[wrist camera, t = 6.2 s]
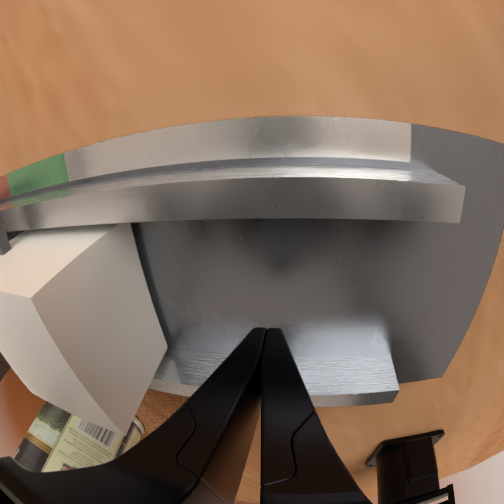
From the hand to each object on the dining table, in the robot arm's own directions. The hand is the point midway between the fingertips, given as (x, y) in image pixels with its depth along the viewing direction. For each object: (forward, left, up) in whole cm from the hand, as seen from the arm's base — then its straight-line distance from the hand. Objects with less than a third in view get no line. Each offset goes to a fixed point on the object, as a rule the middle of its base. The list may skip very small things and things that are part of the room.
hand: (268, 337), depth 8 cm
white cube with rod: (+2, +12, -2) cm, 13 cm away
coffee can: (-17, +18, -4) cm, 25 cm away
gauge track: (0, +5, -3) cm, 6 cm away
